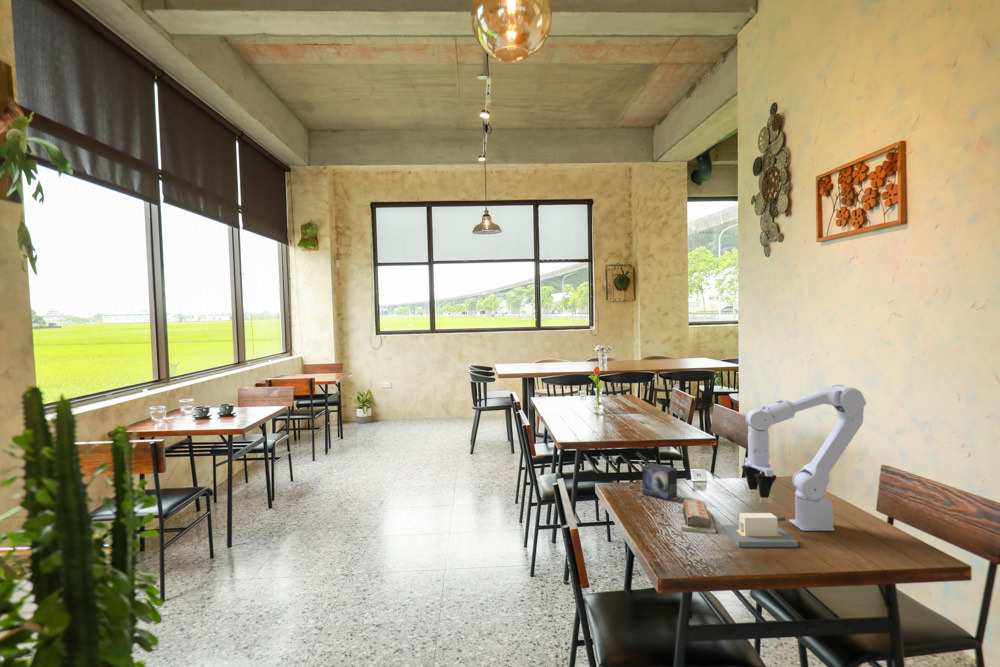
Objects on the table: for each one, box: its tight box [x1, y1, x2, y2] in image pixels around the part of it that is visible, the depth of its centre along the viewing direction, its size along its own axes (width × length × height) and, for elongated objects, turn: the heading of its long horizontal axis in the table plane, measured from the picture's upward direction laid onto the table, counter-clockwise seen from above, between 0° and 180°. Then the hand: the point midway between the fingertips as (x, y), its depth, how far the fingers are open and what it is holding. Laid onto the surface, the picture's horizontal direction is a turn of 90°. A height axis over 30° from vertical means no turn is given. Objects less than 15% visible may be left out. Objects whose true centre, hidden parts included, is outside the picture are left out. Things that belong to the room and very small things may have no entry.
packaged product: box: [677, 498, 717, 534], centre depth 166 cm, size 18×5×10 cm
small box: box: [642, 462, 678, 502], centre depth 191 cm, size 11×6×10 cm, turn 43°
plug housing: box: [738, 512, 786, 535], centre depth 152 cm, size 12×4×5 cm, turn 88°
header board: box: [721, 524, 799, 548], centre depth 152 cm, size 16×12×4 cm
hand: (758, 493), depth 163 cm, fingers open, 7 cm apart
